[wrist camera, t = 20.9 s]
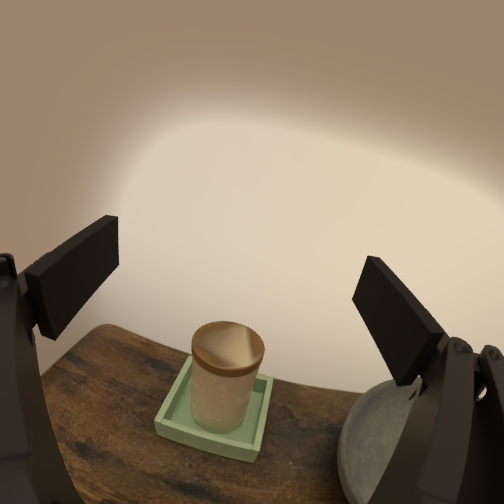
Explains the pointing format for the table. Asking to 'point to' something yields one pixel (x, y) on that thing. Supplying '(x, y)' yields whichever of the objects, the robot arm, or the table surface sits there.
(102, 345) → the table surface
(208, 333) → the tea tin
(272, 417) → the table surface
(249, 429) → the bin
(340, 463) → the bowl
